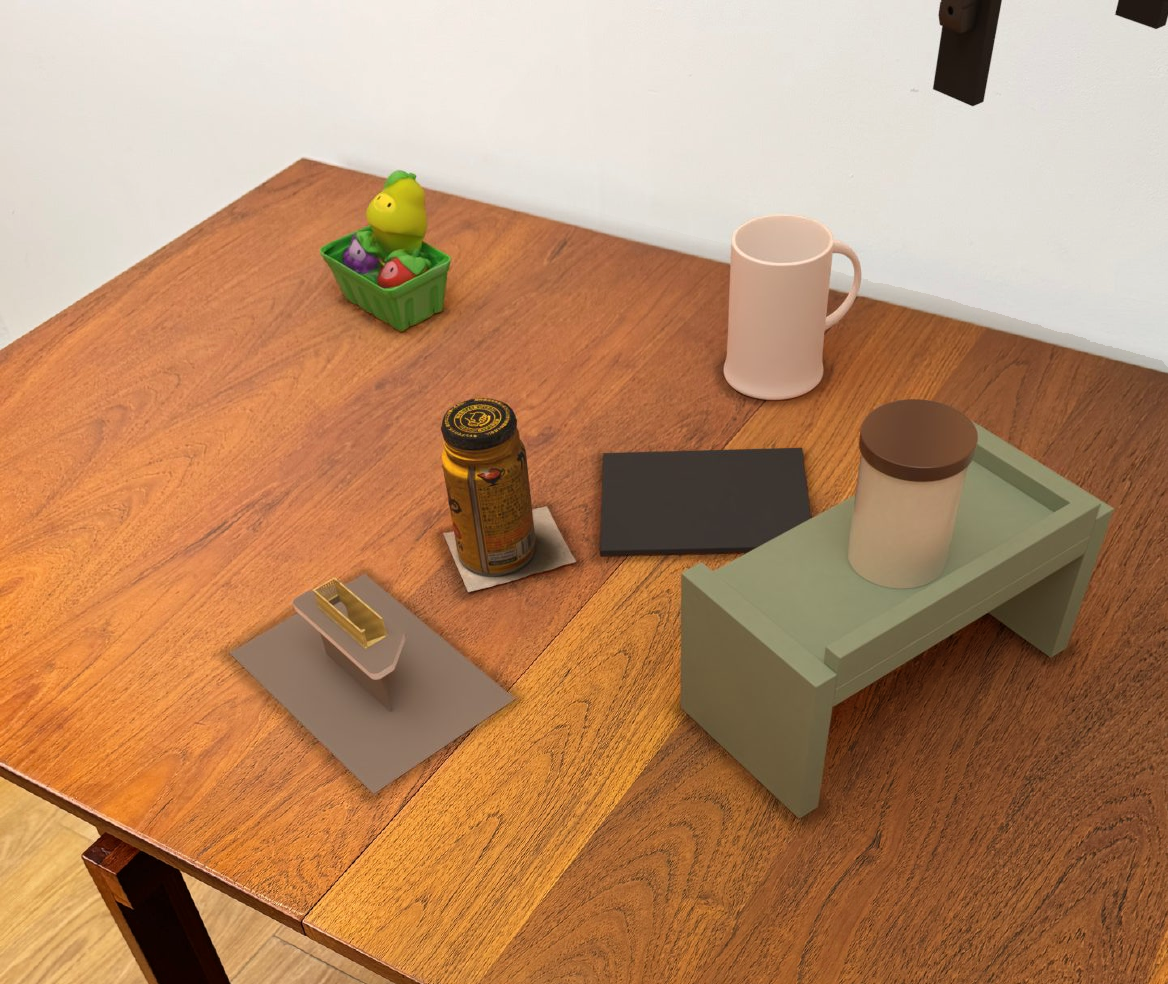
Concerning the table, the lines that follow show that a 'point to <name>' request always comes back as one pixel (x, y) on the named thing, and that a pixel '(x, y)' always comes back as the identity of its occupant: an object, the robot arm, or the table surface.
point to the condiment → (494, 499)
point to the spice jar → (909, 491)
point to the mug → (781, 304)
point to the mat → (700, 500)
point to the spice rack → (873, 612)
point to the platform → (370, 679)
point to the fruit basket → (392, 258)
